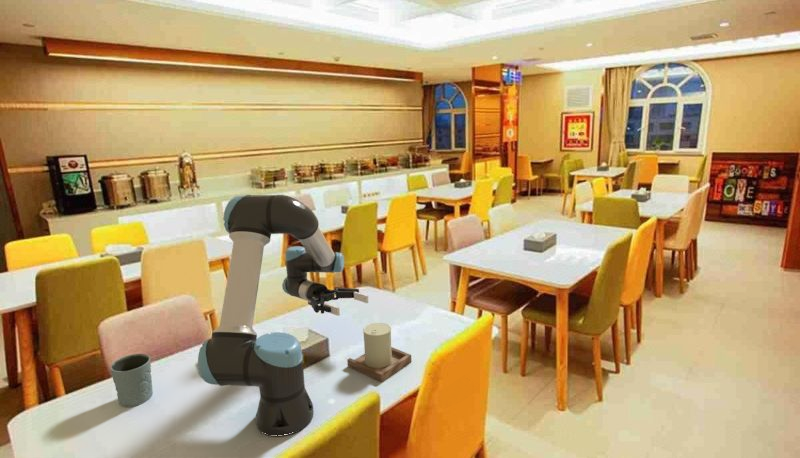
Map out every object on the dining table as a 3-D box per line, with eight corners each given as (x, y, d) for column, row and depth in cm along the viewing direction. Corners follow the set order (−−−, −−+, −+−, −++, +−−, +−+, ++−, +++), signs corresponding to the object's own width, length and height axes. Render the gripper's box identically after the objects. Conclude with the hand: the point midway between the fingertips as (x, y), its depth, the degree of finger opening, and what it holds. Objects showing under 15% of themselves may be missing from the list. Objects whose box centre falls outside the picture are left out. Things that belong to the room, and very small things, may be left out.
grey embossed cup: (121, 392, 132) (114, 357, 129) (159, 385, 135) (152, 350, 133) (113, 412, 123) (105, 374, 120) (153, 403, 126) (146, 366, 123)
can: (360, 366, 141) (358, 332, 138) (370, 352, 149) (368, 320, 147) (387, 369, 138) (385, 335, 135) (395, 355, 147) (394, 322, 144)
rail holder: (381, 382, 133) (381, 374, 133) (347, 366, 143) (347, 359, 142) (411, 361, 145) (411, 354, 144) (378, 348, 154) (378, 341, 153)
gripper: (339, 292, 171) (378, 304, 158) (286, 312, 152) (326, 328, 139) (338, 274, 169) (378, 284, 156) (284, 292, 151) (324, 306, 137)
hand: (353, 305), depth 147 cm, fingers open, 13 cm apart
